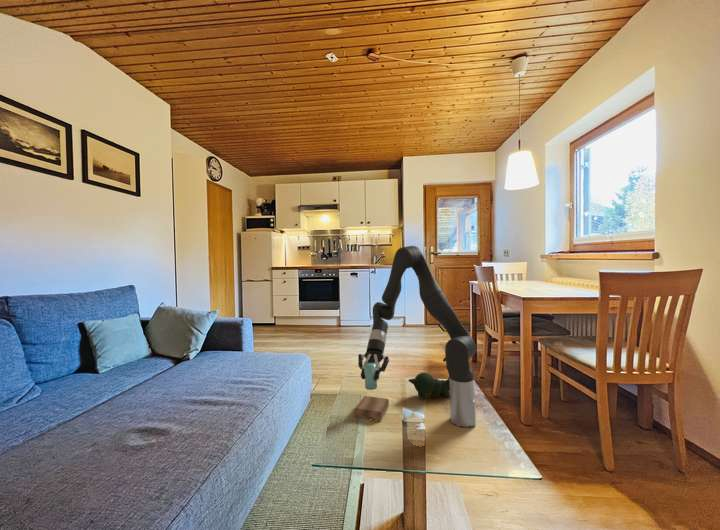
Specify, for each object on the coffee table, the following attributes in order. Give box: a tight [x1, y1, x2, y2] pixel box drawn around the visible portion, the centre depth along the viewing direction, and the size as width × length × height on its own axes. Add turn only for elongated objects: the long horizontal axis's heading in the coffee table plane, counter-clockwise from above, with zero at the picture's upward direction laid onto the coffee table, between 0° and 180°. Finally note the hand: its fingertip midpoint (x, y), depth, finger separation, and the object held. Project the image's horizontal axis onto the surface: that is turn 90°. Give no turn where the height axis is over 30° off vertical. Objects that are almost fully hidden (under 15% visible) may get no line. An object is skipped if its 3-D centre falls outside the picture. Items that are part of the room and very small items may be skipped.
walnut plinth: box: [354, 395, 390, 422], centre depth 130 cm, size 11×11×4 cm
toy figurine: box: [407, 356, 450, 399], centre depth 142 cm, size 9×19×25 cm
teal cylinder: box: [363, 362, 378, 391], centre depth 130 cm, size 5×5×10 cm
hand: (369, 379), depth 128 cm, fingers closed on teal cylinder, 5 cm apart
